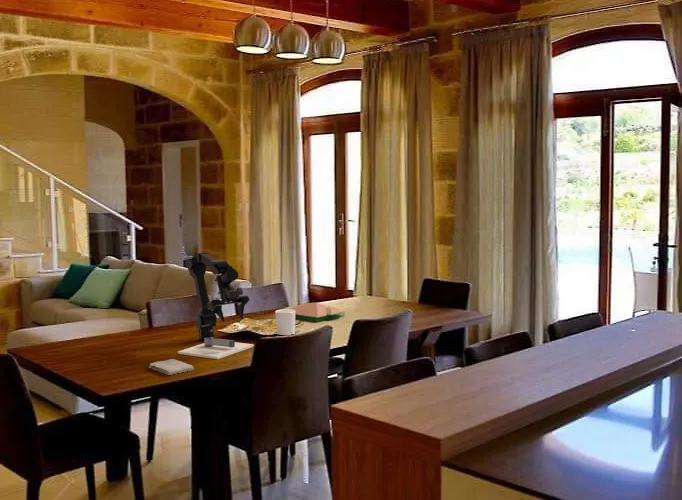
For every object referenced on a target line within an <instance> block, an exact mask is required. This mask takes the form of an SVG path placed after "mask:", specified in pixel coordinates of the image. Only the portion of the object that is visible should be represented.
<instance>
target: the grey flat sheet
mask: <svg viewBox="0 0 682 500" xmlns="http://www.w3.org/2000/svg"><path fill="white" fill-rule="evenodd" d="M253 346H254V344H253V343H251V344H250V343H246V342H245V343H243V342H237V341H236V342H235V347H233V348H231V347H224V346H216V345H213V346H210V347H206V346H205V344H204V342H203V343H201V344H197V345H194V346H191V347H188V348H184V349H181V350H179V351H177V354H179V355H185V356H192V357H198V358H199V357H200V358H207V359H215V360H219V359H223V358H225V357H228V356H232V355H233V354H236V353H239V352H242V351H245V350H247V349H251V348H254V347H255V346H254V347H253Z"/></svg>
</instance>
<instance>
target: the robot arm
mask: <svg viewBox="0 0 682 500" xmlns="http://www.w3.org/2000/svg"><path fill="white" fill-rule="evenodd" d="M186 264H187V265H186V267H187V270H188V273H189V276H191V277H192V278H193V281H194V285H195V291H196V296H197V301H198V305H199V308H198V312H197V318H196V320H195V322H194V325H195V328H196V329H198V337H199V338H197V339H196V340H197V341H203V342H204V338H206V337H213V338H216V337H215V334H214V327H217V326H216V325H217V321H218V319H220V320H221V322H222V323H225V316H224V313H223V310H222V309H223V306H225V305H232V304H236V305H237V306H236V309H237V311H238V312H237V313H238V315H239V318H240V320H243V319H244V312H245V306H246V305H247V304H248V303H249V302H250V297H249V296H248V295H243V293H244V291H243V288H242V287H237V288H235V289H234V286H232V284H233V283H234V282H235V281H236V280H237V279H238V278H239V272H238V270H237V269H235V268H233V266H231V265H230V264H229V263H228V262H227V260H223V259H217V258H215V257H214V256H212V255H210V254H209V253H208V252H205V251H204V252H198V253H196V255H195V256H193V257H191V258H190V259H189V260H188V262H187V263H186ZM207 267H208V268H210V272H211V273H212V274H213V275H216V277H215V278H214V281H215V282H216V283H217V288H218V291H217V293H218V295H219V297H220V298H217V299H211V300H210V299H209V296H208V290H207V286H206V285H207V284H206V279H205V275H206V272H207ZM220 299H221V300H220ZM217 318H218V319H217Z"/></svg>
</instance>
